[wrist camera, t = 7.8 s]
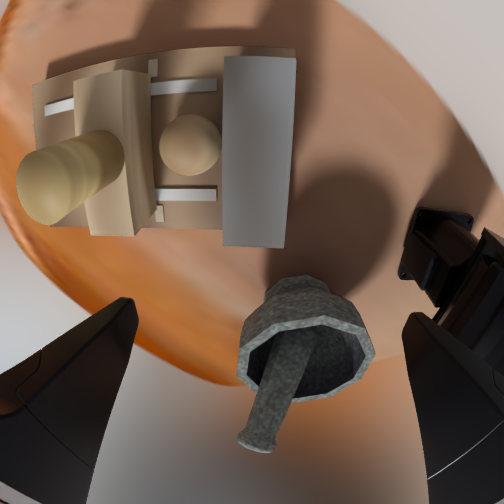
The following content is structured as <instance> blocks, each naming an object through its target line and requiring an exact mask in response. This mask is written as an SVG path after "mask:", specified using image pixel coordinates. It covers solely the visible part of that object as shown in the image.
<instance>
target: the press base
mask: <svg viewBox="0 0 504 504" xmlns="http://www.w3.org/2000/svg"><path fill="white" fill-rule="evenodd" d="M121 69H123V70H129V71H136V72H142V73H147V74H151V135H152V155H153V170H154V183H155V195H156V205H157V210H156V211H155V212H154V214H153V215H152V216H151V217H150V218H149V219H148V221H147V222H146V223H145V224H144V225H143V227H142V228H182V229H215V230H223V246H239V247H263V248H284V241H285V230H286V219H287V207H288V194H289V182H290V168H291V154H292V138H293V122H294V103H295V82H296V49H291V48H278V47H256V46H224V47H202V48H188V49H178V50H169V51H161V52H154V53H148V54H142V55H136V56H130V57H125V58H120V59H116V60H111V61H107V62H103V63H99V64H95V65H91V66H87V67H84V68H80V69H77V70H74V71H70V72H67V73H64V74H61V75H58V76H55V77H52V78H49V79H47V80H44V81H41V82H39V83H36V84H33V117H34V131H35V142H36V150H39V149H41V148H44V147H47V146H50V145H52V144H55V143H58V142H61V141H64V140H67V139H70V138H73V137H76V135H75V120H74V93H73V81H75V80H79V79H82V78H86V77H90V76H94V75H98V74H102V73H107V72H111V71H116V70H121ZM189 114H195V115H200V116H203V117H206V118H207V119H209V120H210V121H212V122H213V123H214V124H215V125H216V127H217V128H218V130H219V132H220V135H221V139H222V149H221V153H220V156H219V158H218V160H217V161H216V163H215V164H214V165H213V166H212V167H211V168H210V169H208V170H207V171H205V172H203V173H201V174H198V175H193V176H186V175H181V174H178V173H176V172H174V171H172V170H171V169H169V168H168V167H167V166H166V164H165V163H164V162H163V160H162V158H161V155H160V150H159V142H160V137H161V135H162V132H163V131H164V129H165V128H166V126H167V125H168V124H169V123H170V122H171V121H173V120H174V119H176V118H178V117H180V116H183V115H189ZM50 227H89V225H88V220H87V215H86V210H85V204H84V202H83V203H82V204H81V205H79V206H78V207H76V208H75V209H74V210H72V211H71V212H70V213H68V214H67V215H66V216H65V217H63V218H62V219H61V220H59V221H58V222H57V223H55V224H52V225H50Z"/></svg>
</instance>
